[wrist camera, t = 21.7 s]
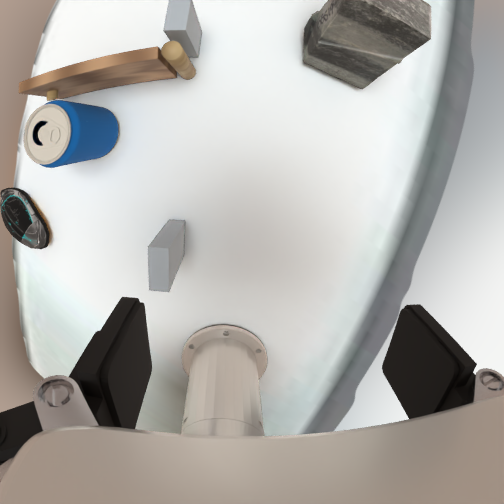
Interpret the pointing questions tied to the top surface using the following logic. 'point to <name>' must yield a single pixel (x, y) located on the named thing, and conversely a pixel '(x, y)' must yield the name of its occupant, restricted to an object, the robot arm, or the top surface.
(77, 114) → the beverage can
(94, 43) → the top surface
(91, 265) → the top surface
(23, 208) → the computer mouse
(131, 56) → the door
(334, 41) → the stone block
